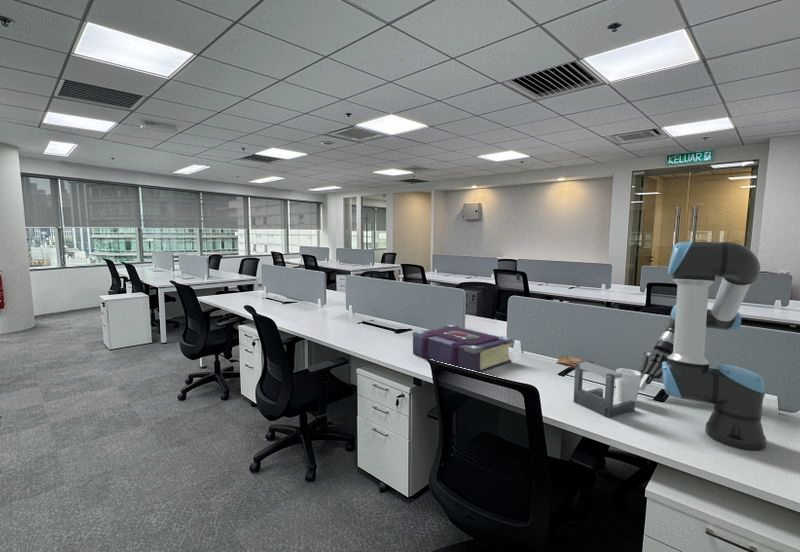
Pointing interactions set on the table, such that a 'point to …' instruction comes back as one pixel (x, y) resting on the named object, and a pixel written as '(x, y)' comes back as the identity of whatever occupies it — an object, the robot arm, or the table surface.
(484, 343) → the book
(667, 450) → the table surface
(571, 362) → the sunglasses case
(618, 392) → the cup
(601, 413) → the grey plastic frame
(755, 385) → the robot arm
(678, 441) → the table surface
